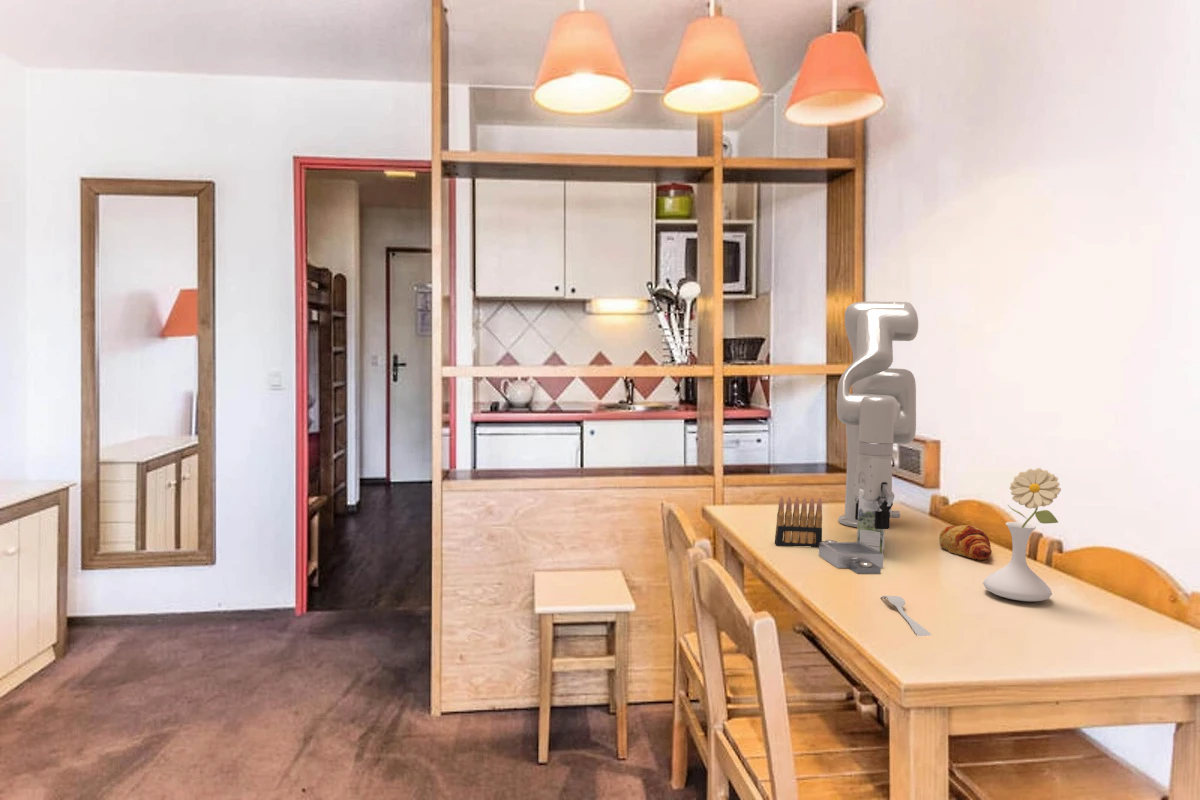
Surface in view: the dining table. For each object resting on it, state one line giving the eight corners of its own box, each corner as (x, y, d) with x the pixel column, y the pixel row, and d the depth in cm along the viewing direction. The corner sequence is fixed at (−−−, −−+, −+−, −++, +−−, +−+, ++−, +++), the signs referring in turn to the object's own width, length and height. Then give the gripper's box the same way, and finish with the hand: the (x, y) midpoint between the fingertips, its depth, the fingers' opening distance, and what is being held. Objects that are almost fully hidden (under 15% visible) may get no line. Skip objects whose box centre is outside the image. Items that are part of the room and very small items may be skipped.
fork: (917, 654, 119) (918, 638, 118) (876, 598, 139) (877, 584, 139) (935, 655, 119) (937, 639, 118) (891, 599, 139) (893, 585, 139)
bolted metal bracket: (846, 546, 176) (846, 533, 176) (892, 573, 154) (892, 559, 154) (805, 546, 175) (805, 533, 175) (845, 573, 153) (846, 559, 153)
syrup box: (884, 549, 174) (887, 487, 173) (882, 555, 169) (885, 491, 168) (858, 546, 177) (861, 485, 176) (855, 551, 171) (858, 489, 170)
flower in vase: (968, 590, 144) (976, 462, 143) (1011, 585, 148) (1019, 460, 147) (1030, 613, 132) (1038, 472, 131) (1074, 606, 136) (1083, 470, 135)
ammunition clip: (820, 547, 176) (822, 497, 175) (821, 549, 174) (824, 498, 173) (774, 545, 177) (776, 495, 176) (775, 547, 175) (778, 496, 174)
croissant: (932, 554, 185) (918, 525, 185) (969, 536, 185) (955, 507, 184) (975, 578, 164) (959, 545, 163) (1016, 558, 163) (1001, 525, 163)
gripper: (843, 445, 179) (840, 516, 180) (877, 454, 162) (873, 532, 163) (873, 446, 180) (869, 516, 181) (910, 455, 163) (906, 532, 164)
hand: (871, 524), depth 172 cm, fingers open, 9 cm apart
